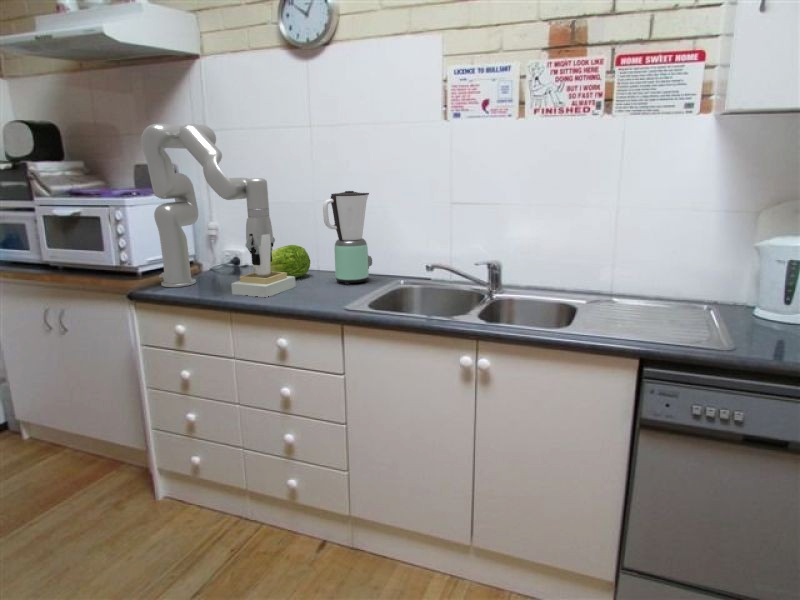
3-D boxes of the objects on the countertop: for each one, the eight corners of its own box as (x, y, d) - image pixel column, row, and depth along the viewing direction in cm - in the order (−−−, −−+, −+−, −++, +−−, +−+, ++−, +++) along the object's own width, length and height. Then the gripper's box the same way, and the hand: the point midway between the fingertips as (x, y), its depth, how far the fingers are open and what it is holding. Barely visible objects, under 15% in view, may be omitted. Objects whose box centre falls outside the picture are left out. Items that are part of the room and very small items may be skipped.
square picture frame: (232, 294, 193) (230, 277, 192) (265, 283, 210) (264, 268, 209) (266, 297, 187) (264, 280, 186) (297, 286, 204) (296, 270, 203)
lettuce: (269, 273, 234) (259, 244, 229) (318, 269, 225) (309, 238, 220) (250, 288, 221) (240, 257, 216) (301, 283, 212) (291, 251, 207)
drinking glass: (267, 276, 193) (264, 235, 189) (250, 276, 194) (247, 234, 191) (275, 273, 199) (273, 232, 196) (258, 272, 201) (255, 232, 197)
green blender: (363, 276, 221) (360, 189, 212) (379, 282, 209) (377, 191, 201) (320, 281, 211) (316, 191, 203) (334, 288, 200) (330, 193, 191)
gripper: (265, 211, 200) (268, 258, 205) (233, 215, 185) (238, 266, 190) (281, 211, 197) (284, 259, 202) (251, 216, 182) (255, 268, 187)
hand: (262, 262), depth 196 cm, fingers closed on drinking glass, 6 cm apart
